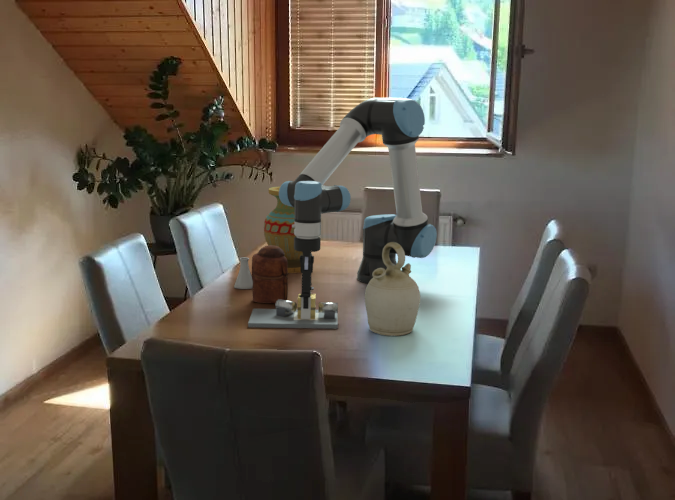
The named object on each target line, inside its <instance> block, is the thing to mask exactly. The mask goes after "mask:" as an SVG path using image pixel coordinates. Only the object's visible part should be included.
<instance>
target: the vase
mask: <svg viewBox="0 0 675 500" xmlns="http://www.w3.org/2000/svg"><path fill="white" fill-rule="evenodd" d="M280 187H281V186H272V187H269V188H268V194H269V195H271V196H274V197H275V198H276V200H277V202H276V203H277V204H276V207H275V208H273V210H271V211H270V212H269V213H267V215H266V217H265V219H264V224H263V233H264V234H263V235H264V239H265V242H266V244H267V246H268V245H275V246H278V247H279V248H281V249H282V250H283V252H284V253H285V255H284V257H286V259H287V262H288V263H287V269H288V274H297V273H299V274H300V273H301V271H300V268H301V264H300V256H303V252H301V251H300V252H299V251H296V250H295V249H294V238H295V237H296V235H294V229H295V228H293V227H292V225H293V224H295V223H294V222H295V221H294V218H295V217H294V207H292V206H288V205H285V204H283V203H282V202H281V200H280V198H279V189H280Z"/></svg>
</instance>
